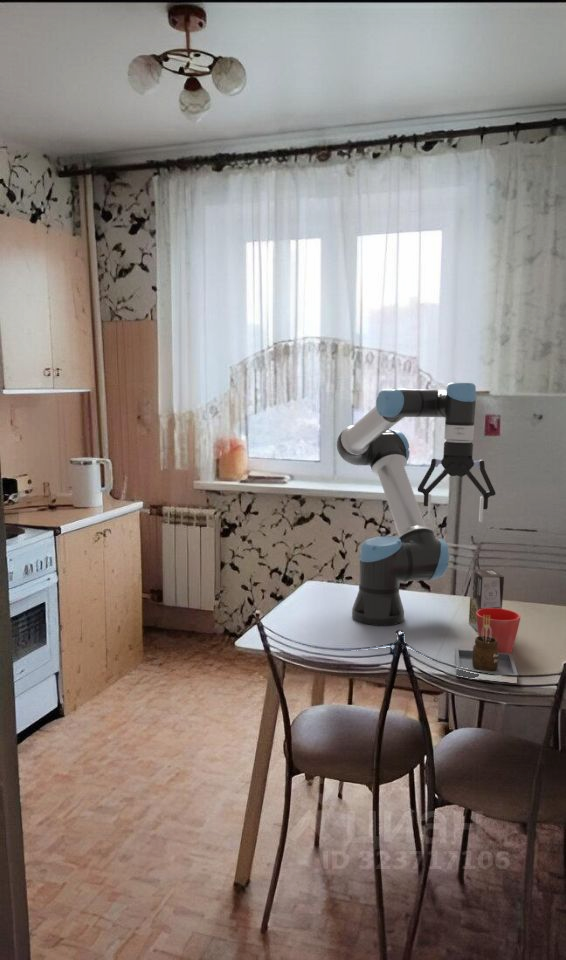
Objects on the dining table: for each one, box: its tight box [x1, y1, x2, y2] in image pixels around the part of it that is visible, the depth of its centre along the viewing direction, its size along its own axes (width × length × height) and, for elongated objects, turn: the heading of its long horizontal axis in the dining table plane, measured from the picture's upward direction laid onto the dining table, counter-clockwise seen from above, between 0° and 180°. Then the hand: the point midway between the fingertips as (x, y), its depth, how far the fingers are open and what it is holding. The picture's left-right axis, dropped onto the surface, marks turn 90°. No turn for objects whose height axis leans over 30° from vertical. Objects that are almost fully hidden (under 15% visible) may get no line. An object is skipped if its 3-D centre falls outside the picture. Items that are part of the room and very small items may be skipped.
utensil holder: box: [472, 615, 499, 671], centre depth 166 cm, size 6×6×12 cm
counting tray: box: [454, 647, 519, 678], centre depth 167 cm, size 14×14×2 cm
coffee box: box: [468, 568, 505, 632], centre depth 195 cm, size 9×6×16 cm
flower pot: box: [476, 608, 521, 654], centre depth 179 cm, size 11×11×10 cm
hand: (454, 519), depth 188 cm, fingers open, 13 cm apart
